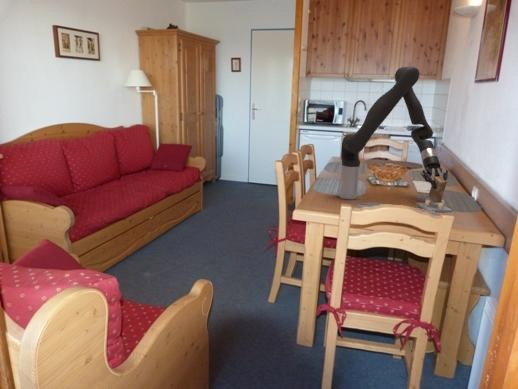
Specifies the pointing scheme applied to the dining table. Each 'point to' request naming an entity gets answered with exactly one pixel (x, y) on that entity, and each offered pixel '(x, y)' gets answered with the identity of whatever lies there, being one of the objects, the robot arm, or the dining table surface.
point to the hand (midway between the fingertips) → (439, 188)
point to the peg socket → (434, 206)
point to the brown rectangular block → (437, 190)
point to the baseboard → (422, 187)
